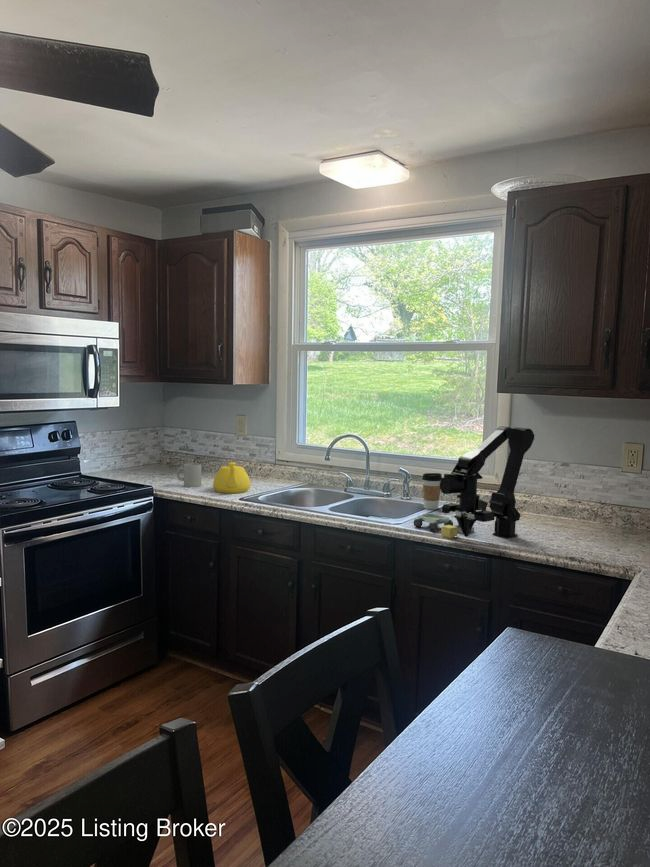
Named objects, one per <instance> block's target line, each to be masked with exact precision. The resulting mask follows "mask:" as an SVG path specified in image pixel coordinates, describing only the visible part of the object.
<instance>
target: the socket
mask: <svg viewBox="0 0 650 867" xmlns="http://www.w3.org/2000/svg"><path fill="white" fill-rule="evenodd" d="M453 526H456V527H458V524H455V525H454V524H453ZM474 532H475V527H474V526H473V527H472V529H471V531H470V533H474ZM461 533H462V534H461ZM457 534H461V535H464V534H463V532H462V529H461V528H458V530H457Z"/></svg>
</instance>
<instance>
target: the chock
mask: <svg viewBox="0 0 650 867" xmlns="http://www.w3.org/2000/svg"><path fill="white" fill-rule="evenodd" d="M440 528H441V530H440V536H442V537H445V538H448V539H452V538H456V537H455V536H457V537H458V533H457V530H458V527H456V526H454V525H453V526H452V525H445V526H444V525H441V527H440Z"/></svg>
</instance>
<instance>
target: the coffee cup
mask: <svg viewBox="0 0 650 867" xmlns="http://www.w3.org/2000/svg"><path fill="white" fill-rule="evenodd" d="M442 475H443V474H442V473H440V472H439V473H438V472H434V473H433V472H432V473H430V472H429V473H428V472H427V473H423V474H422V477H421V479H422V482H423V483H422V490H423V491H422V492H423V495H422V496H423V508H424V509H426V510H438V509H439V502H440V496H441V489H440V482H441V479H442V478H443V477H442Z"/></svg>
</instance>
